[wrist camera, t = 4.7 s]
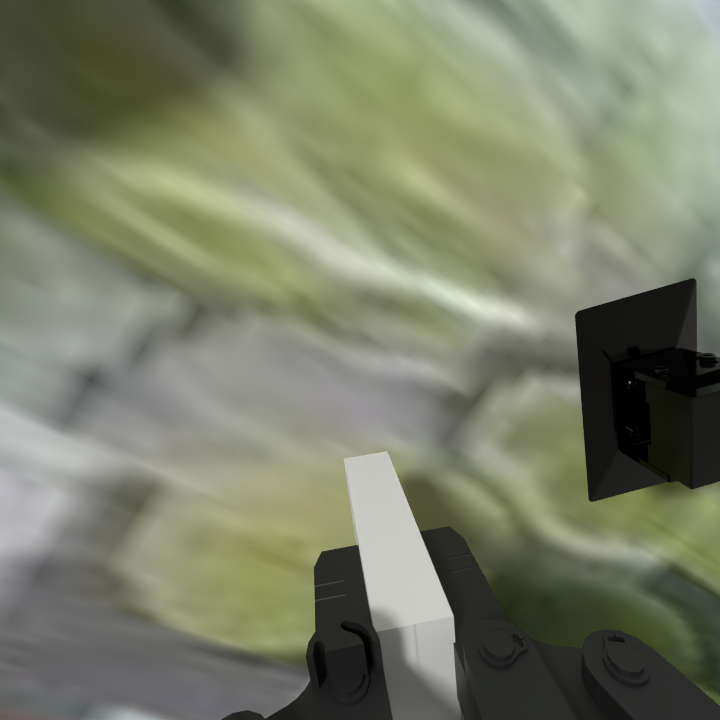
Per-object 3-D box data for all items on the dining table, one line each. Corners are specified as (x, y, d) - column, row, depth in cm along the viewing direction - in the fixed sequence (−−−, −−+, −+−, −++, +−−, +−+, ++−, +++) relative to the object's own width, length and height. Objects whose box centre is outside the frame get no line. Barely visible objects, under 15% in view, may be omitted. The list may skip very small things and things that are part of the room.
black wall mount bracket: (698, 486, 21) (806, 552, 16) (562, 526, 20) (635, 604, 16) (701, 236, 17) (840, 231, 13) (537, 277, 17) (621, 287, 12)
